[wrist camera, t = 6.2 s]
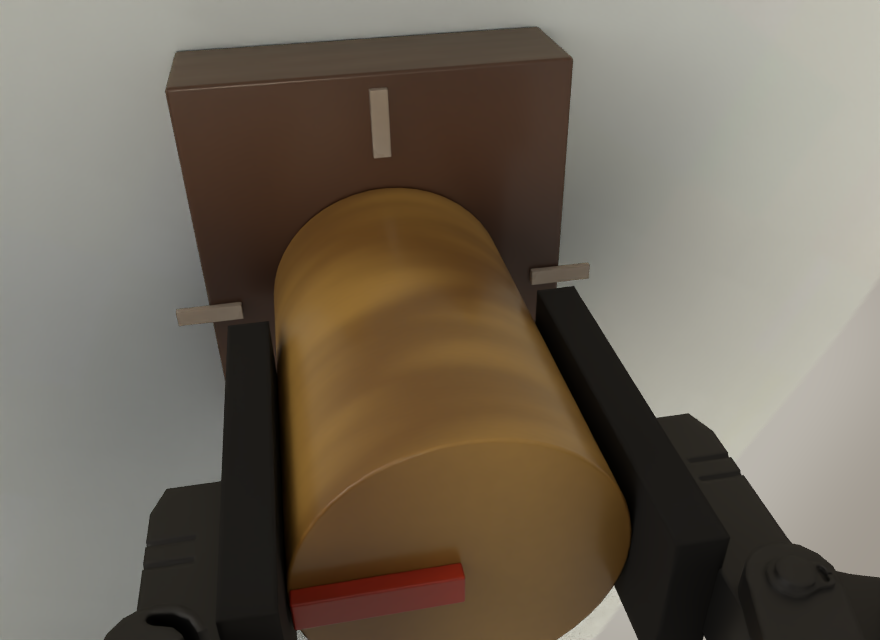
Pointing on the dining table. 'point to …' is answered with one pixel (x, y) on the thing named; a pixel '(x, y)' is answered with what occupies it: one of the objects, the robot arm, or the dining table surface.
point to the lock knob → (430, 438)
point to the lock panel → (368, 149)
